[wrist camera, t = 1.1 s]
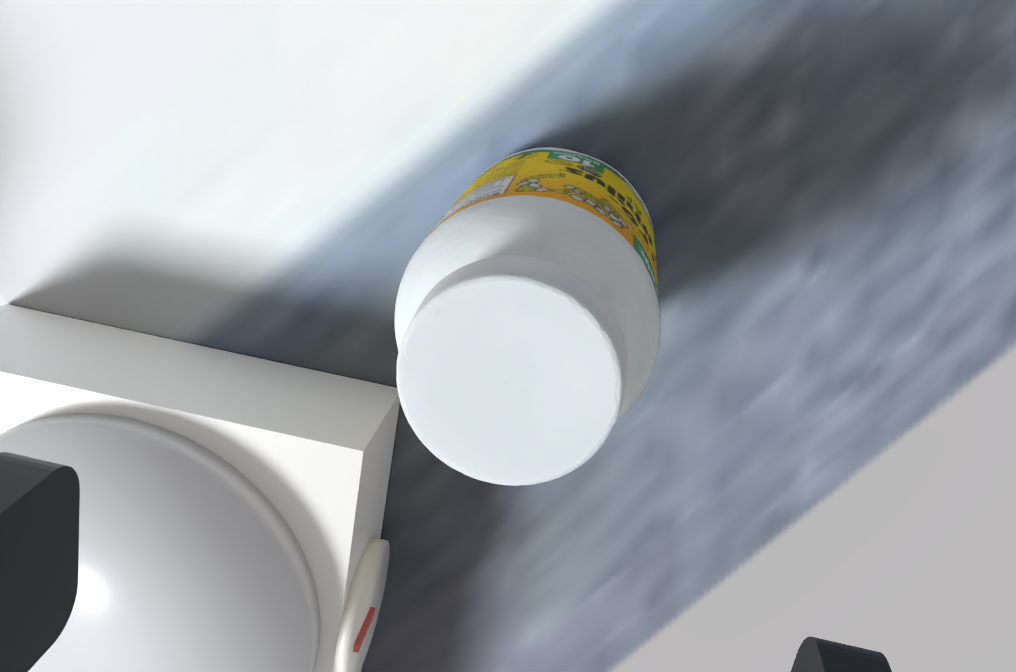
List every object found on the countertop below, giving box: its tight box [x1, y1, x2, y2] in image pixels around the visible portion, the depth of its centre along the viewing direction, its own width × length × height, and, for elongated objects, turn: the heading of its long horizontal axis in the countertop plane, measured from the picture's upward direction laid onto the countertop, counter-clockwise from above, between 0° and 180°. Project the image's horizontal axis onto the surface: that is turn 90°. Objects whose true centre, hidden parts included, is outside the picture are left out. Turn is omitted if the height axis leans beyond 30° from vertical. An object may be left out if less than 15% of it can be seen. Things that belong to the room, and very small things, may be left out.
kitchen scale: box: [0, 304, 400, 672], centre depth 28 cm, size 12×12×5 cm
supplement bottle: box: [395, 147, 660, 486], centre depth 21 cm, size 5×5×10 cm
